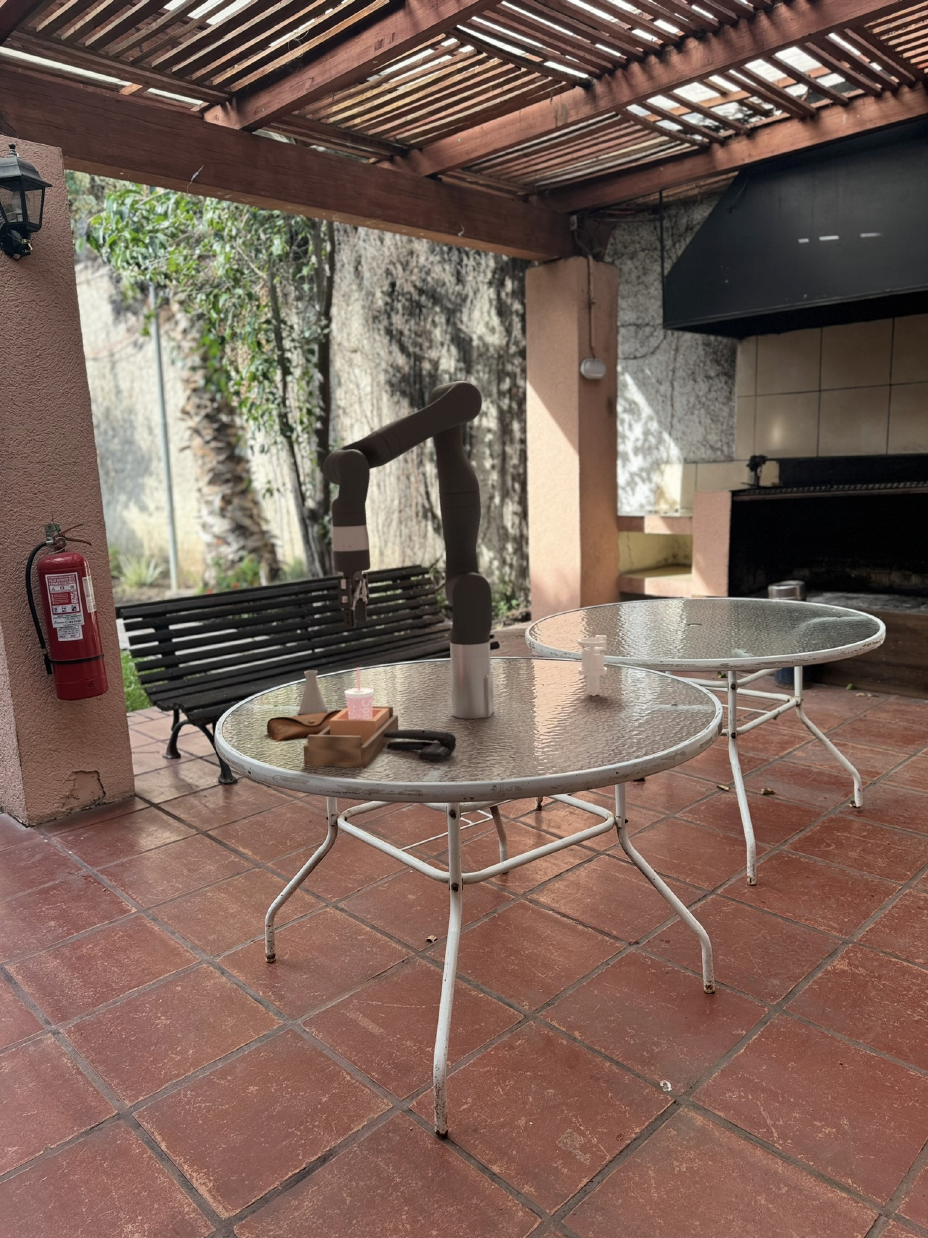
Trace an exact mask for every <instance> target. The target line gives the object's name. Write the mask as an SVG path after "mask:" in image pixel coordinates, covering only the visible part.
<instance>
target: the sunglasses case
mask: <svg viewBox="0 0 928 1238" xmlns="http://www.w3.org/2000/svg"><path fill="white" fill-rule="evenodd" d="M342 710H343V709H335V710H332V711H327V712H324V713H316V714H307V715H304V714H299V715H292V716H276V717H272V718H270V719H269V720H268V721H267V723H266V732H267V735H268V736H269V737H270V738H271V737H272V738H271V739H272V740H273V741H275V740H276V741H275V742H276V743H279V741H280V742H284V741H283V740H285V741H290V739H291V740H297V739H304V738H308V735H318V734H319V733H320V732H321V731H323V730H324V729H325V728H326V727H328V726H329V725H330V721H329V720H331V719H332V718H333V717H334V716H336V715H337V714H338V713H339V712H341V711H342Z"/></svg>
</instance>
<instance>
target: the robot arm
mask: <svg viewBox="0 0 928 1238" xmlns="http://www.w3.org/2000/svg"><path fill="white" fill-rule="evenodd" d="M482 406H483V398H482V394H481V392H480V389H478V387H477V386H476V385H475V384H474V383H471V382H469V381H463V380H460V381H459V380H458V381H453V382H449V383H444V384H441V385H438V386H436V387H435V388H433V389H432V391H431V393H430V394H429V397H428V405H427V406H425V407H423V408H421V409H419V410H417V411H415V412H412V413H410V414H408V415H405V416H403V417H400V418H398V419H395V420H393V421H390V422H389V423H387V424H385V425H383V426H381V427H379V428H378V429H376V430H374V431H373V432H371V433H369V434H367V436H365V437H363V438H361V439H359V440H356V441H354V442H351V443H349V444H347V445H344V446H342V447H340V448H338V449H336V450H334V451H332V452H331V453H329V454H328V455H327V456H326V458H325V460H324V462H323V465H322V473H323V475H324V477H325V479H326V480H327V481H328V482H329V483H331V484H333V485H335V486H338V495H337V497H336V498H335V499H334V500H332V502H331V521H332V522H331V523H332V524H331V525H332V537H331V538H332V539H331V540H332V555H333V569H334V571H335V572H337V573H342V574H343V575H342V578H338V579H337V581H336V582H337V598H338V600H337V601H338V608H339V609H341V611H342V612H343V625H344V628H345V629H349V630H350V629H354V628H356V626H357V625H356V622H357V623H366V622H367V621H368V615H367V604H368V601H370V587H369V574H368V573H367V572H366V571H369V570H370V569H371V553H370V539H369V538H370V537H369V530H368V526H367V525H368V523H367V509H366V503H367V498H368V492H369V487H370V486H369V484H370V480H371V479H370V477H371V473H370V472H371V471H370V470H371V469H376V468H381V467H382V466H385V465H386V464H389V463H391V462H392V461H394V460H395V459H397V458H399V457H400V456H402V455H404V454H405V453H407V452H409V451H411V449H413V448H415V447H417V446H419V445H421V444H422V443H424V442H425V441H427V440H429V439H430V438H433V442H434V449H435V457H436V458H435V459H436V460H435V461H436V469H437V480H438V494H439V495H438V497H439V498H438V499H439V510H440V518H441V526H442V527H441V528H442V534H443V542H444V548H445V576H444V577H445V578H444V579H445V580H444V581H445V583H444V590H445V591H444V592H445V593H444V594H445V596H446V599H447V602H448V603H449V604H450V605H451V606H452V623H451V629H450V630H449V649H450V650H449V651H450V652H449V653H450V681H451V684H450V685H451V708H452V716H453V717H455V718H459V719H467V720H468V719H470V720H471V719H481V718H491V716H492V714H493V713H494V711H495V709H494V679H493V677H494V676H493V675H494V674H493V671H492V669H491V668H492V667H491V663H492V662H491V630H492V629H493V628H492V627H493V597H492V589H491V585H490V583H489V581H488V579H486V578H485V577H484V576H483V575H481V574H480V571H479V565H478V557H477V554H478V553H477V542H478V537H479V536H478V535H479V531H480V527H481V525H480V524H481V518H482V517H481V516H482V514H481V513H482V507H481V503H482V502H481V493H480V483H479V479H478V477H477V475H476V473H475V470H474V468H473V466H472V465H471V463H470V460H469V458H468V456H467V454H466V451H465V448H464V444H463V435H462V425H463V424H464V425H465V424H468V423H470V422H472V421H474V419H476V418H477V417H478V415H479V414H480V413H481V410H482Z"/></svg>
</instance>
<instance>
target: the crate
mask: <svg viewBox="0 0 928 1238" xmlns="http://www.w3.org/2000/svg"><path fill="white" fill-rule="evenodd" d="M341 710H342V711H341V712H339V713H338V714H337V715H336V716H334V717H333V718H332V719H331V720H329V721H330V735H351V736H362V744H364V743H365V742H366V741H368V740H369V739H370V738H371V737H372V736H373V735H374V734H375V733H376V732H377V731H378V730H379V729H380V728H381V727H382V726H383V725H384V724H385V723H386V722H387V721H388V720H389V719H390V718H389V708H373V716H372V719H349V716H348V708H345V707H344V708H343V709H341Z"/></svg>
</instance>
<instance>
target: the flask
mask: <svg viewBox="0 0 928 1238" xmlns="http://www.w3.org/2000/svg"><path fill="white" fill-rule="evenodd" d="M303 673H304V676H305V685H304V686H305V687H304V692H303V695H302V699H301V703H300V705H299V709H298V712H297V713H298V714H299V715H307V714H316V713H326V712H329V711H328V709H329V708H328V706H327V703H326V701H325V699H324V697H323V695H322V691H321V690H320V687H319V683H318V680H317V679H318V678H317V677H318V676H317V675H318V670H307V671H306V670H305V671H304V672H303Z"/></svg>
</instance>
